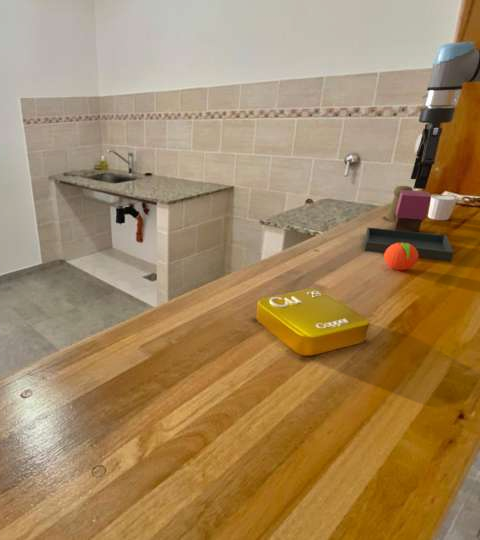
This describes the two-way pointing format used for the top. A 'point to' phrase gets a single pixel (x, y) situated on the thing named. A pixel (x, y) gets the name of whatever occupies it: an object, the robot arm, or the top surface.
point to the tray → (409, 242)
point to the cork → (396, 201)
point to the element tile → (311, 321)
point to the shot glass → (441, 207)
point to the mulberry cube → (413, 204)
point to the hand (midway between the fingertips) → (417, 183)
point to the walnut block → (407, 224)
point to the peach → (401, 256)
